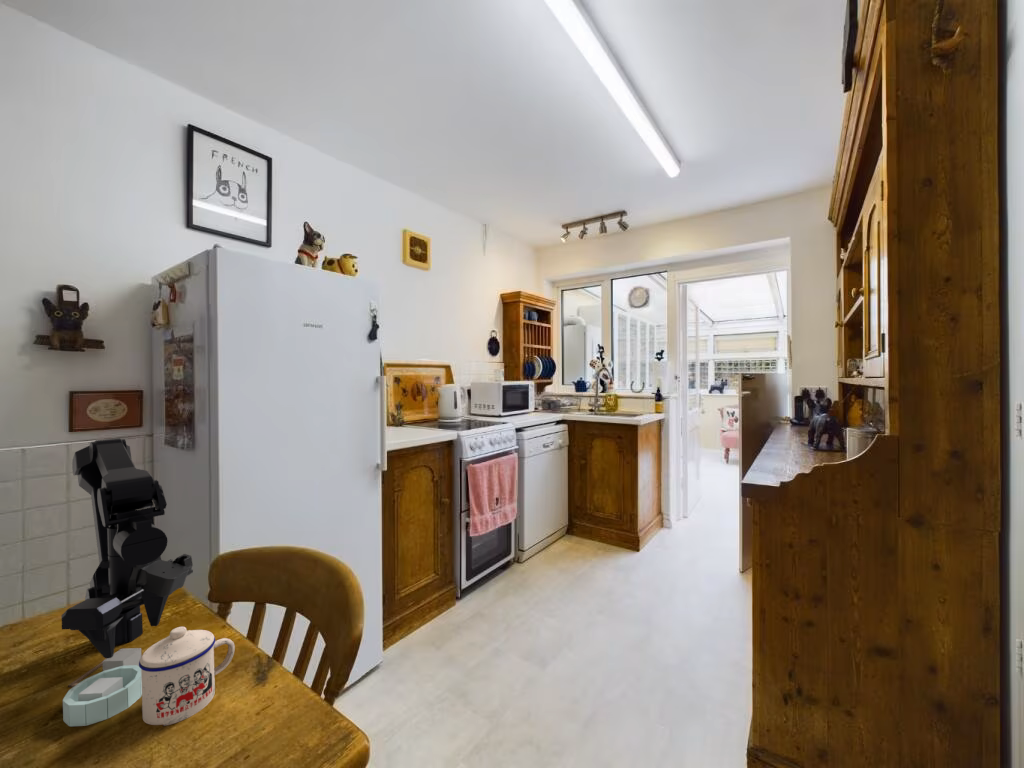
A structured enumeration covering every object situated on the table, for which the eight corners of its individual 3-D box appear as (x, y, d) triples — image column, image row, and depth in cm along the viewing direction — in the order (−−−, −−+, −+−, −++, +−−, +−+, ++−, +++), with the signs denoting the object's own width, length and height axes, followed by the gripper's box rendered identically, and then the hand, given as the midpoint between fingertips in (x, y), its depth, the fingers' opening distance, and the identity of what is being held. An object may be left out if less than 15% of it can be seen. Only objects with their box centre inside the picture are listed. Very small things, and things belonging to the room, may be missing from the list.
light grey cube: (78, 717, 63) (78, 694, 63) (100, 700, 66) (99, 678, 66) (102, 716, 63) (102, 692, 63) (123, 699, 66) (122, 677, 66)
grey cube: (103, 682, 71) (102, 661, 71) (122, 668, 74) (121, 648, 74) (123, 681, 71) (123, 660, 71) (141, 667, 74) (141, 648, 74)
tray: (68, 691, 69) (68, 685, 69) (108, 662, 76) (107, 657, 76) (121, 688, 69) (121, 682, 69) (156, 660, 76) (156, 655, 76)
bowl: (46, 731, 61) (45, 706, 61) (103, 689, 69) (102, 666, 69) (108, 729, 61) (108, 703, 61) (157, 686, 70) (156, 664, 70)
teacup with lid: (152, 741, 59) (149, 655, 59) (132, 713, 64) (129, 634, 64) (247, 689, 68) (245, 615, 68) (223, 668, 74) (221, 600, 74)
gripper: (131, 572, 65) (134, 675, 65) (214, 530, 84) (216, 610, 84) (56, 574, 65) (59, 678, 65) (156, 532, 84) (158, 612, 84)
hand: (133, 640), depth 74 cm, fingers open, 9 cm apart
